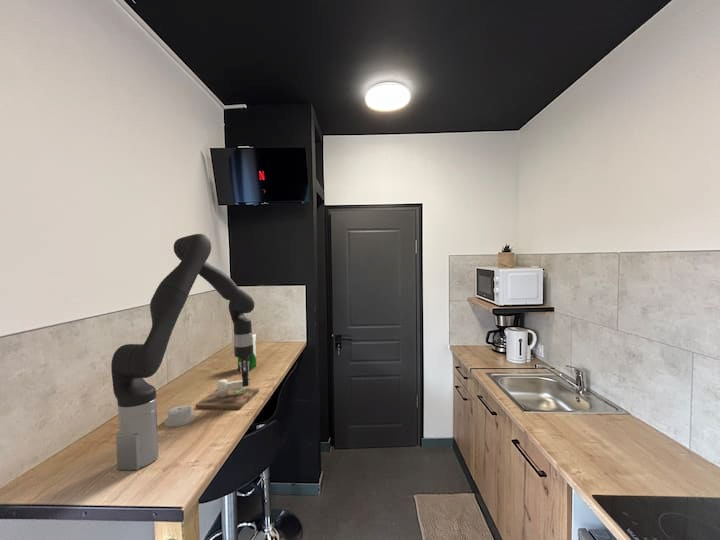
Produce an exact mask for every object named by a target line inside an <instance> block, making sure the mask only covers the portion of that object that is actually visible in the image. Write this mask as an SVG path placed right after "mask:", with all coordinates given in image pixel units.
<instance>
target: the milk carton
mask: <svg viewBox="0 0 720 540" xmlns="http://www.w3.org/2000/svg"><path fill="white" fill-rule="evenodd" d="M252 337H253V355H251V356H248V357H247V359H249V370H251V369H253V368H254V367H256V368H257V348H256V347H257V346H256V340H257V338H256V337H257V334H256V333H252ZM239 360H241V357H237V371H238V370H240V365H239ZM254 369H255V368H254ZM254 369H253V370H254ZM251 371H252V370H251Z"/></svg>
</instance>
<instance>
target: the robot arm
mask: <svg viewBox="0 0 720 540" xmlns="http://www.w3.org/2000/svg"><path fill="white" fill-rule="evenodd" d="M173 243H174V244H173V252H174V254H175V256H176V258H178V259H179V260H180V263H179V264H177V266H175V268H174V269H173V270H172V271H171V272H169V274H167V275H166V277H164V278H163V279H162V280H161V282H160V283H159V284H158V286H157V288H156V290H155V291H154V293H153V296H152V297H151V300H150V303H149V310H150V316H151V317H150V318H151V329H150V332H149V333H148V335H147V337H146V339H145V341H144V343H141V344H140V343H139V344H138V343H128V344H127V343H126V344H123V345H121V346H119V347H118V348H117V349H116V350H115V351H114V353H113V355H112V359H111V364H110V365H111V368H110V370H111V379H112V388H113V389H112V390H113V394H114V397H115V399H116V400H117V401H116V402H117V417H118V418H117V420H118V433H117V434H116V436H115V444H116V466H117V467H116V469H117V470H120V471H121V470H124V471H125V470H128V471H138V470H140V469H141V468H143V467H146V466H148V465H150V464H152V463H153V461H154V462H155V461H156V460H158V458H159V434H158V433H159V431H158V412H157V410H158V408H157V407H158V406H157V405H158V402H157V390H156V388H155V386H153V385H152V384H150V383H149V382H147V381H146V380H145V379H148V378H150V377H153V376H154V375H155V374H156V373H157V371H158V370H159V368H160V366H161V365H162V362H163V360H164V357H165V354H166V351H167V347H168V345H169V341H170V338H171V337H172V333H173V330H174V328H175V326H176V323H177V321H178V319H179V316H180V314H181V313H182V310H183V308H184V306H185V304H186V302H187V300H188V297H189V295H190V292H191V290H192V288H193V287H194V284H195V282H196V280H197V278H198V276H200V277H201V278H202V279H204V280H205V281H207V282H208V284H209V285H210V286H211V287H212V288H214V290H215V291H216V293H218V294H219V295H220V296H221V298H223V299H224V300H226V301H228V311H229V314H230V318H231V321H232V324H233V350H234V351H233V353H234V357H235V358H238V357H241V360H239V365H240V371H239V372H240V373H241V380H242V381H243V386H248V379H249V372H250V371H249V359H247V357H248V356H251V355H253V337H252V334H253V332H252V328H253V327H252V320H251V319H250V318H247V317H246V316H245V315H246V314H249V313H252V311H254V309H255V301H254V299H253V298H252V297H251V295H250V294H249V293H247V292H246V291H245V290H243V289H242V288H240V287H239V286H238V285H237V284H236V283H235V282H234V280H233V279H232V278H231V277H230V276H229V275H228V274H227V273H225V272H224V271H223V270H220V269H218V268H217V267H215V266H213V265H211V264H210V263H209V262H207V260H208V258H209V256H210V255H211V251H212V241H211V240H210V238H209V237H208V236H207V235H206V234H202V233H195V234H190V235H186V236H183V237H180V238H177V239H176V240H175V241H174V242H173Z"/></svg>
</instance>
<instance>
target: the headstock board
mask: <svg viewBox="0 0 720 540" xmlns="http://www.w3.org/2000/svg"><path fill="white" fill-rule="evenodd" d="M259 390H260V388H259V387H258V388H256V387H254V388H253V387H252V388H251V387H243V388H237V389H230V390H228V396H226V397H218V388H217V389H216V390H214V391H213V392H211V393H210V394H209V395H207V396H206V397H205V398H203V399H202V400H200V401H199V402H198V403H196V404H195V409H198V410H208V409H209V410H242V408H243V407H245V405H246V404H247V403H248V402H249V401H251V400H252V399H253V398H254V397H255V396H256V395H257V394H258V393H259V392H260V391H259Z"/></svg>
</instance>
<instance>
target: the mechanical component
mask: <svg viewBox="0 0 720 540" xmlns="http://www.w3.org/2000/svg"><path fill="white" fill-rule="evenodd" d="M194 420H196V412H194V411H192V406H190V405H189V404H188V405H187V404H186V405H185V404H184V405H179V406H175V407H172V408H170V409H168V411H167V417H165V418H164V420H163V423H164V426H165V427H168V428H169V427H171V428H174V427H175V428H177V427H180V426H184V425H188V424H190V423H193V421H194Z"/></svg>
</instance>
